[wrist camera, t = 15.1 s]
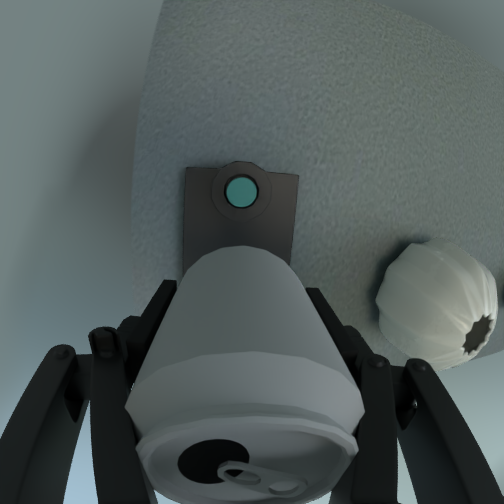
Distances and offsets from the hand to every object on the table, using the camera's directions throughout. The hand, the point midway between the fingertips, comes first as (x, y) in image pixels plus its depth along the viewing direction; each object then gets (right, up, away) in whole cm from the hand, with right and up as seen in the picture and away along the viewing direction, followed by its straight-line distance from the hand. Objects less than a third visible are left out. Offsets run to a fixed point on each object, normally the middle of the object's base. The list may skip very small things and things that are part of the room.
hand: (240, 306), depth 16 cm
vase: (+21, -1, +15) cm, 26 cm away
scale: (-1, +3, +13) cm, 13 cm away
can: (0, 0, +1) cm, 1 cm away
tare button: (0, +9, +9) cm, 13 cm away
